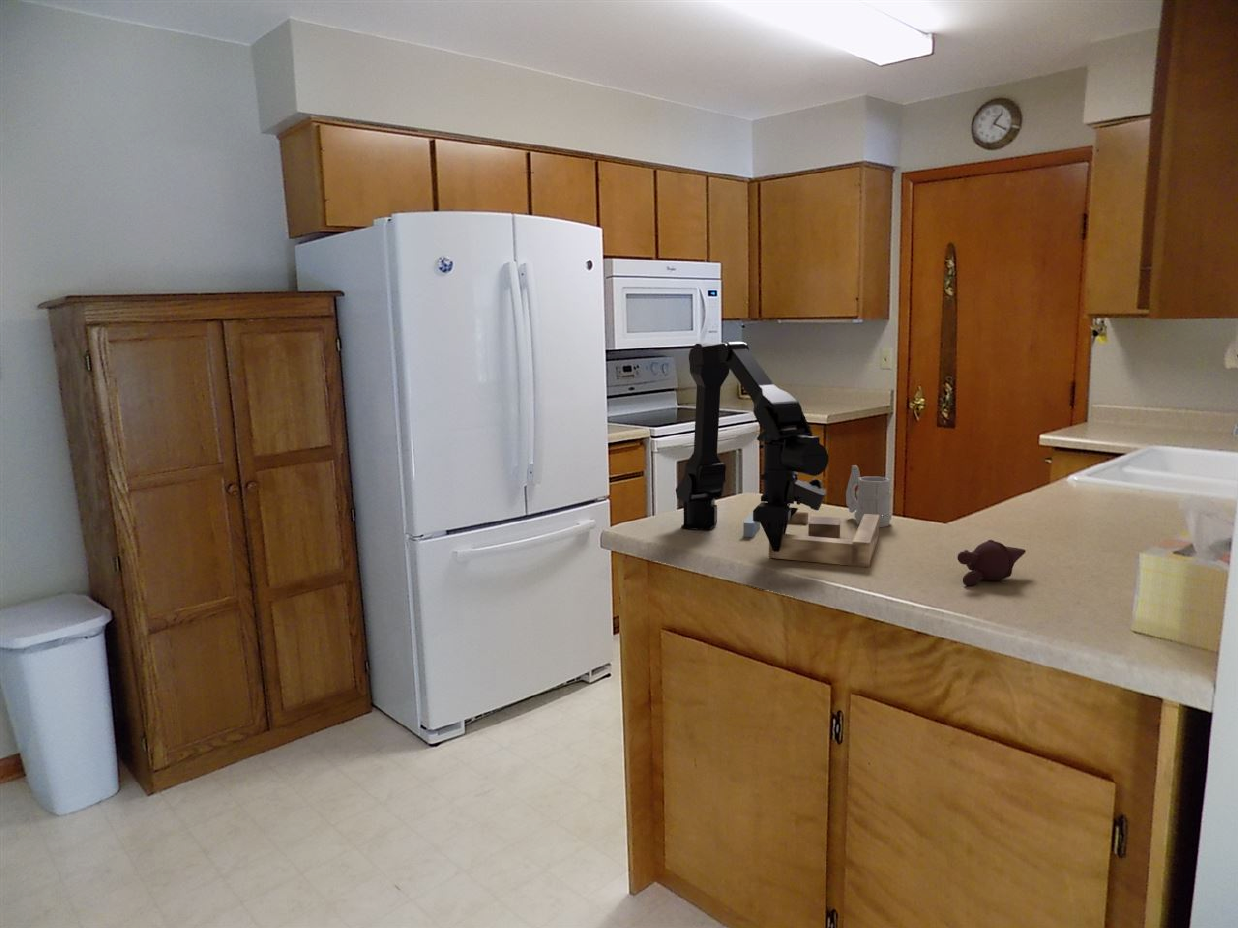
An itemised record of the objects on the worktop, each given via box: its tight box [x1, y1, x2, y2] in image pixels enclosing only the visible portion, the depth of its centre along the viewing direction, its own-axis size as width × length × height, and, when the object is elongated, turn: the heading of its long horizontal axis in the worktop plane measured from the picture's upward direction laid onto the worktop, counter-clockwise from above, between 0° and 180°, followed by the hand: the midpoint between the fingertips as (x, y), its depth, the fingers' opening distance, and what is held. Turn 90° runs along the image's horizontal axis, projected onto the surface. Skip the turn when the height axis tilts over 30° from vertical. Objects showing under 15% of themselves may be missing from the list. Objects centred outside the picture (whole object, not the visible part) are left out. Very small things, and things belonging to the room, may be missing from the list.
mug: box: [845, 464, 892, 528], centre depth 177 cm, size 8×12×12 cm, turn 27°
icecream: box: [956, 539, 1027, 587], centre depth 137 cm, size 7×7×15 cm
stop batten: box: [742, 513, 761, 538], centre depth 171 cm, size 2×8×3 cm, turn 160°
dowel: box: [788, 511, 809, 524], centre depth 180 cm, size 10×2×2 cm
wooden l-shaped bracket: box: [768, 514, 880, 568], centre depth 158 cm, size 18×22×4 cm
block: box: [807, 516, 841, 539], centre depth 164 cm, size 6×6×4 cm
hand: (777, 548), depth 152 cm, fingers closed on wooden l-shaped bracket, 3 cm apart
